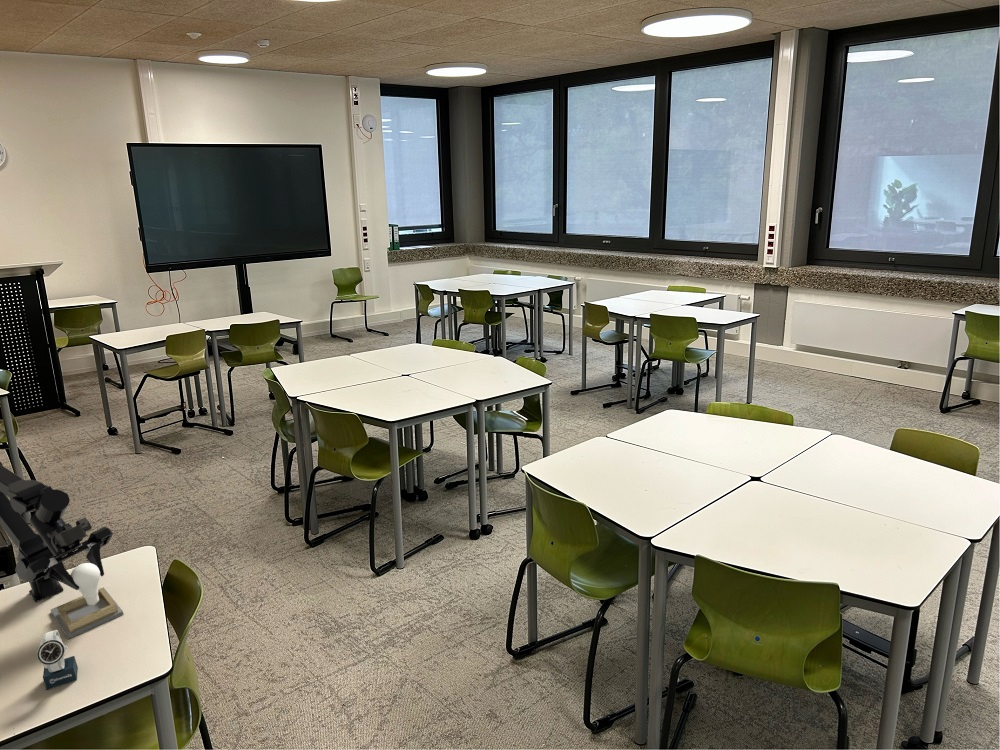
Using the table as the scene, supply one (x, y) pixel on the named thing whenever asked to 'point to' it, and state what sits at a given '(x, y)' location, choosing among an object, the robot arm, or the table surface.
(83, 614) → the socket plate
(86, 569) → the lightbulb
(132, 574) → the table surface
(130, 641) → the table surface
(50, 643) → the watch
